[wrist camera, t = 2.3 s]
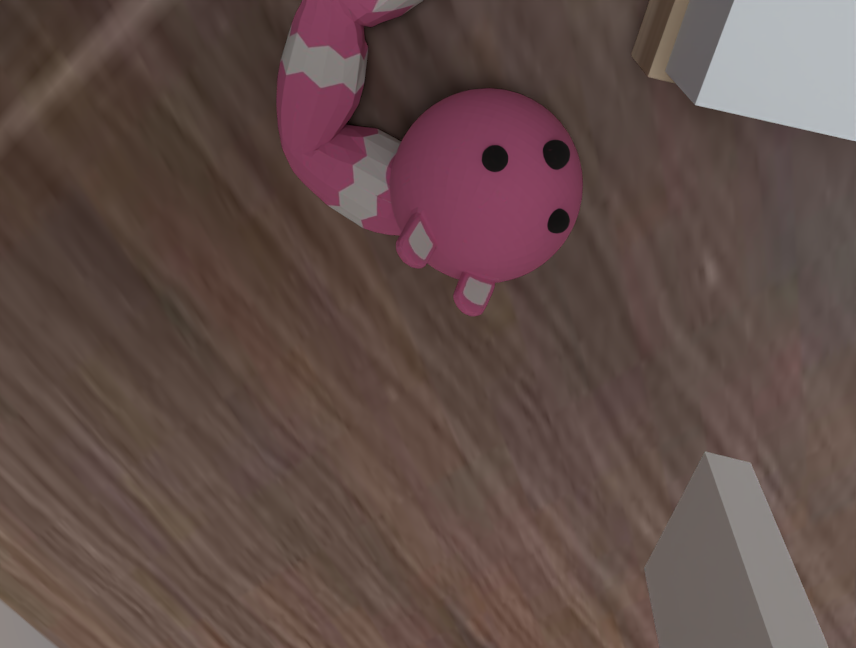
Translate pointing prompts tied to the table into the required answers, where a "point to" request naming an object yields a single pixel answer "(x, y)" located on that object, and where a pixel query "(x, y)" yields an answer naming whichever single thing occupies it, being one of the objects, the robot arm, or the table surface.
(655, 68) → the lower slab
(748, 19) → the upper block
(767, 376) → the table surface
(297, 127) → the toy
